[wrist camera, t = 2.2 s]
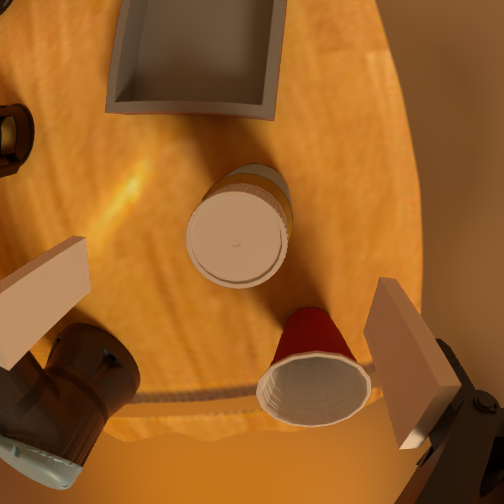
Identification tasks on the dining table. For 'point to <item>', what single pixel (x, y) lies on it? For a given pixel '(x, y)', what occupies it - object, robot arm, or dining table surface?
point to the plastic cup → (313, 374)
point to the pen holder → (4, 5)
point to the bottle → (241, 227)
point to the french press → (17, 138)
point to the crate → (197, 58)
